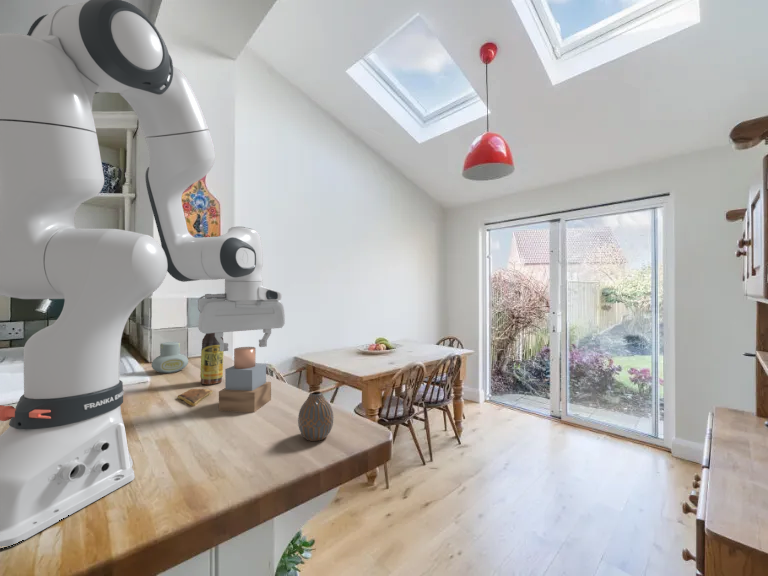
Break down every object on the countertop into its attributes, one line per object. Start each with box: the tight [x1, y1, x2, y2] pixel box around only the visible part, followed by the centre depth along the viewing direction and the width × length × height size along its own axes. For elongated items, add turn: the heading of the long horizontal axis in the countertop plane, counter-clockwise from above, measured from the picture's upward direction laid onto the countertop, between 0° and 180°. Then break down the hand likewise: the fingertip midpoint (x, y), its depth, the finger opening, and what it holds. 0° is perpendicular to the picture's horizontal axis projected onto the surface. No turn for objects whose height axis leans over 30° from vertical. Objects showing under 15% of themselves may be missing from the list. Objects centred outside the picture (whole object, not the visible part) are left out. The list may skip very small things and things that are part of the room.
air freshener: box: [151, 341, 189, 374], centre depth 121 cm, size 11×8×10 cm
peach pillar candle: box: [233, 346, 257, 369], centre depth 87 cm, size 5×5×4 cm
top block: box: [224, 362, 267, 391], centre depth 87 cm, size 7×7×5 cm
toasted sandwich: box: [177, 388, 214, 407], centre depth 91 cm, size 11×8×2 cm
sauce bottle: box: [199, 333, 225, 386], centre depth 106 cm, size 6×6×20 cm
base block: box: [218, 381, 272, 413], centre depth 87 cm, size 9×9×5 cm
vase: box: [297, 390, 335, 442], centre depth 68 cm, size 7×7×9 cm
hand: (244, 348), depth 86 cm, fingers open, 8 cm apart
